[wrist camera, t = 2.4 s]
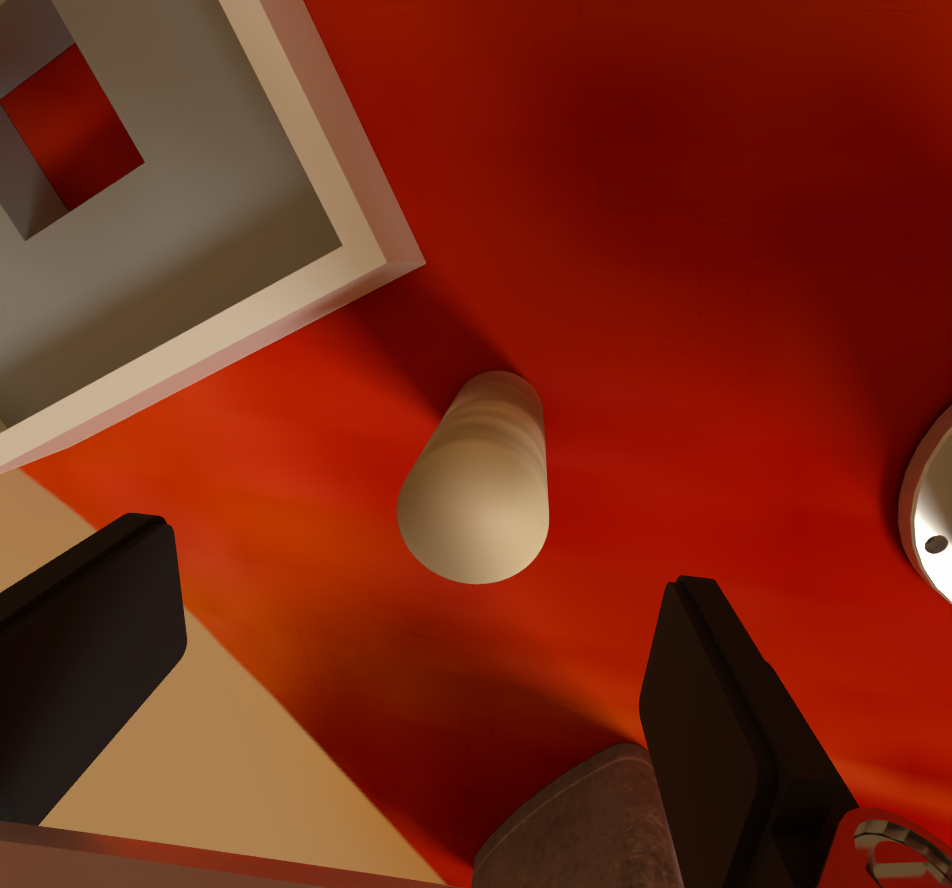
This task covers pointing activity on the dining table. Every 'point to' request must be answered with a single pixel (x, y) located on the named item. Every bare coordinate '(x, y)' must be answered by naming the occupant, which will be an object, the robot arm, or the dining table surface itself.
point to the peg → (480, 484)
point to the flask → (586, 831)
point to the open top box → (180, 210)
